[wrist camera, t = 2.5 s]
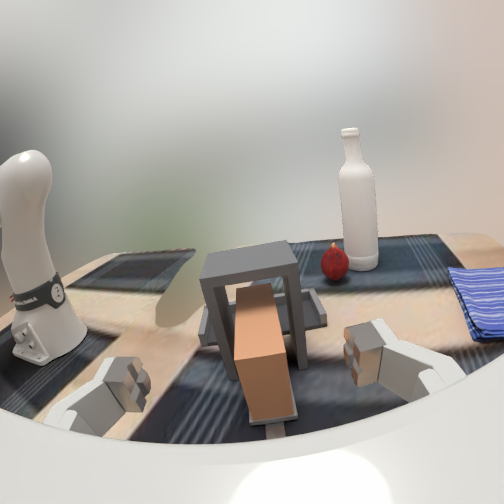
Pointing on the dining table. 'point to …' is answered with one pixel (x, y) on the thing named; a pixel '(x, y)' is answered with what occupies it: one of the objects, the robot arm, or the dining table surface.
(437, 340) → the dining table surface
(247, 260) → the tunnel
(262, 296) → the orange rectangular block
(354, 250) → the bottle
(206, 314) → the tray
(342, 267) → the onion
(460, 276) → the dish towel
